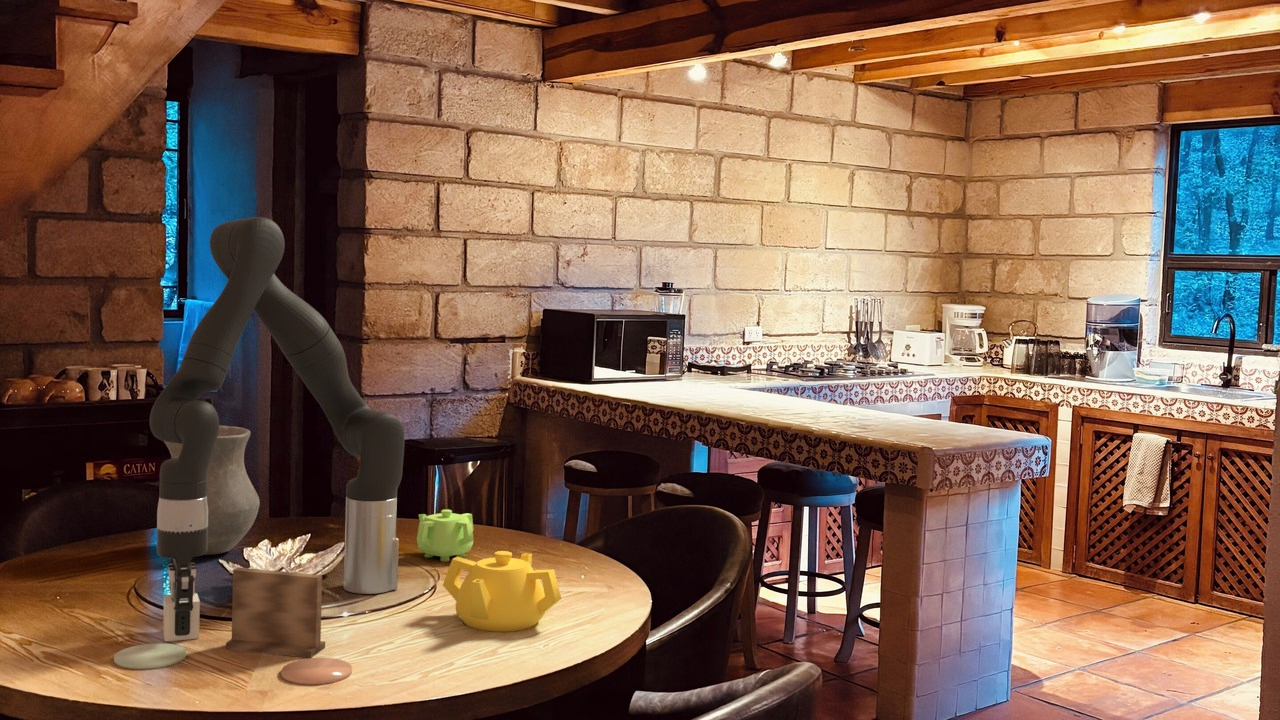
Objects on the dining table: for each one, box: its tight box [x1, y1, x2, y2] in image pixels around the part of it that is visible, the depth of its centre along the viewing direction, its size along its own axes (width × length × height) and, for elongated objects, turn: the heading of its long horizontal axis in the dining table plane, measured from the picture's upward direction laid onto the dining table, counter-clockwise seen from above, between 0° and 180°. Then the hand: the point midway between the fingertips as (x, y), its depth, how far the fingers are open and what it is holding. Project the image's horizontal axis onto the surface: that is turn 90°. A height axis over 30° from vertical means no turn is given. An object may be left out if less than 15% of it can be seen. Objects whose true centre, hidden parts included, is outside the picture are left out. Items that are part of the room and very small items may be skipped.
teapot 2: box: [442, 550, 562, 633], centre depth 202 cm, size 17×17×12 cm
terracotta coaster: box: [280, 657, 353, 686], centre depth 173 cm, size 10×10×1 cm
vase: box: [157, 425, 260, 556], centre depth 240 cm, size 20×19×25 cm
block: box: [162, 592, 201, 642], centre depth 187 cm, size 5×5×6 cm
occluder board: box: [225, 567, 326, 659], centre depth 183 cm, size 14×5×12 cm, turn 80°
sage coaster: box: [113, 642, 187, 670], centre depth 176 cm, size 10×10×1 cm
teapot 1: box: [416, 509, 474, 563], centre depth 245 cm, size 12×12×10 cm
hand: (180, 629), depth 187 cm, fingers closed on block, 5 cm apart
